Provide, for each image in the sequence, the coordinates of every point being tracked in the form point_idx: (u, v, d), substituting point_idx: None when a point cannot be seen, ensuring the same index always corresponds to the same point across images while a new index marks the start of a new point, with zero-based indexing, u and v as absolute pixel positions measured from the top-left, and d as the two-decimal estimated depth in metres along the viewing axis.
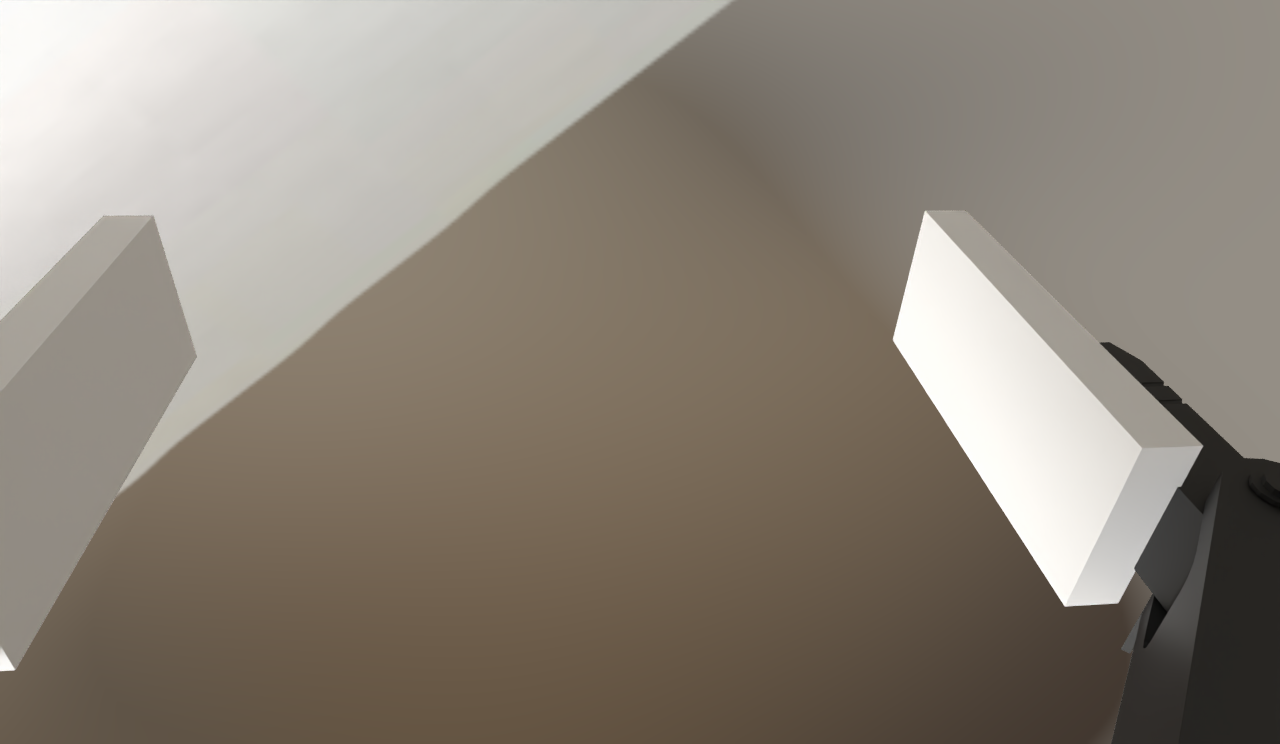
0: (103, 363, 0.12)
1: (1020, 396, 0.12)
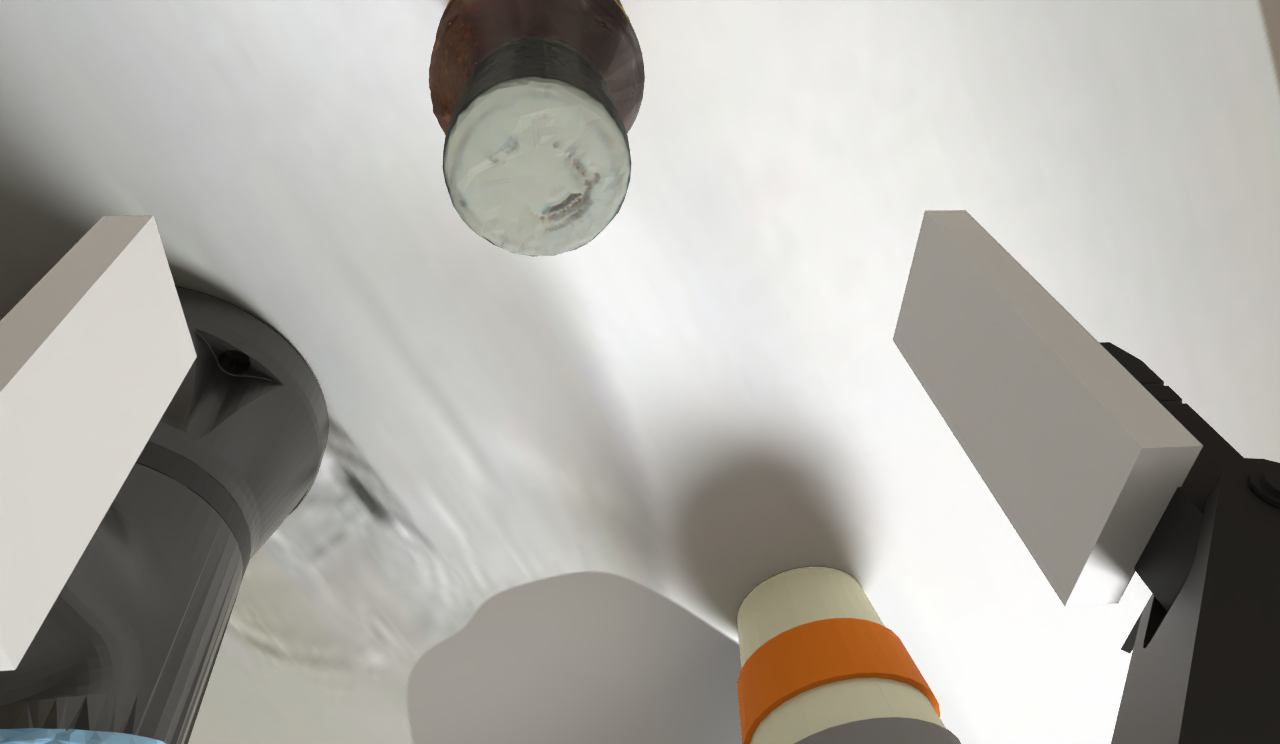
0: (103, 363, 0.12)
1: (1020, 396, 0.12)
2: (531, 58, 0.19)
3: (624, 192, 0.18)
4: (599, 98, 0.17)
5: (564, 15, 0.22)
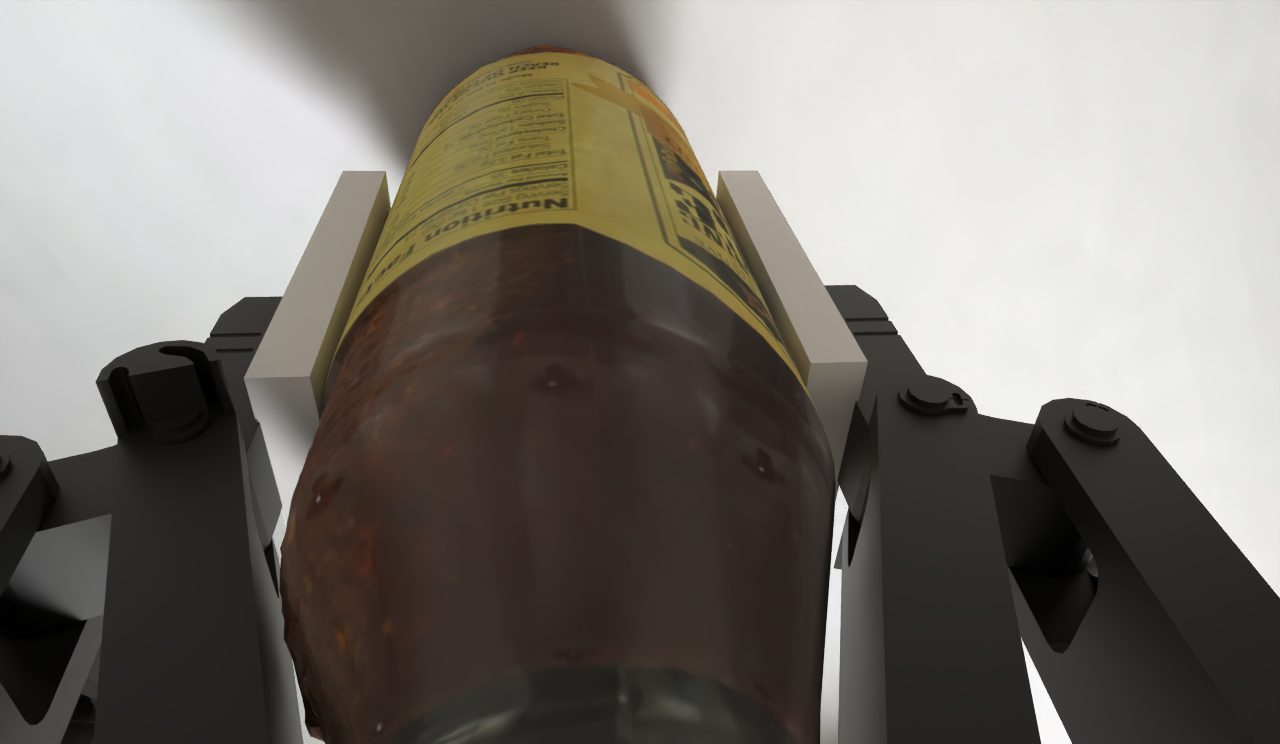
0: None
1: None
2: None
3: None
4: None
5: (666, 501, 0.07)
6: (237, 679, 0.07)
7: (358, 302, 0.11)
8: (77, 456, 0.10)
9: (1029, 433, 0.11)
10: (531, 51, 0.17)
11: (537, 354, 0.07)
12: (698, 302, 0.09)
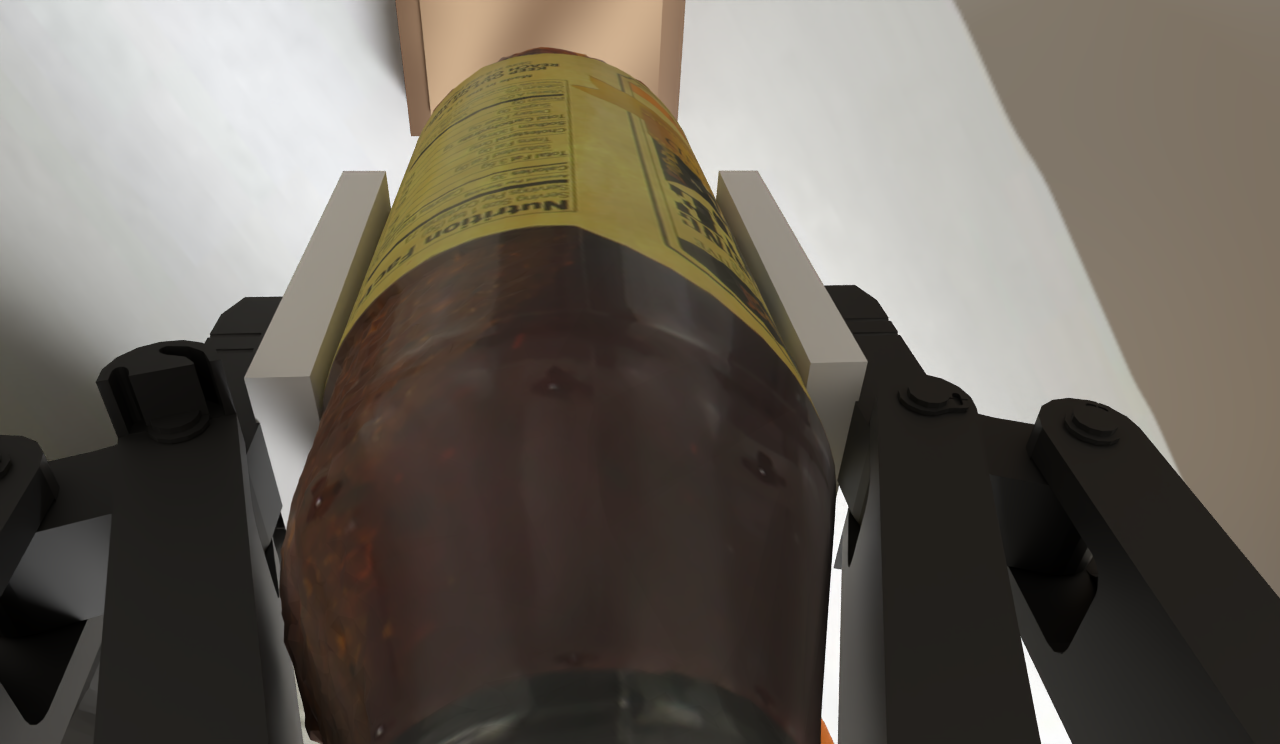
0: None
1: None
2: None
3: None
4: None
5: (666, 505, 0.07)
6: (237, 677, 0.07)
7: (358, 304, 0.11)
8: (77, 456, 0.10)
9: (1029, 433, 0.11)
10: (531, 52, 0.17)
11: (537, 356, 0.07)
12: (698, 305, 0.09)
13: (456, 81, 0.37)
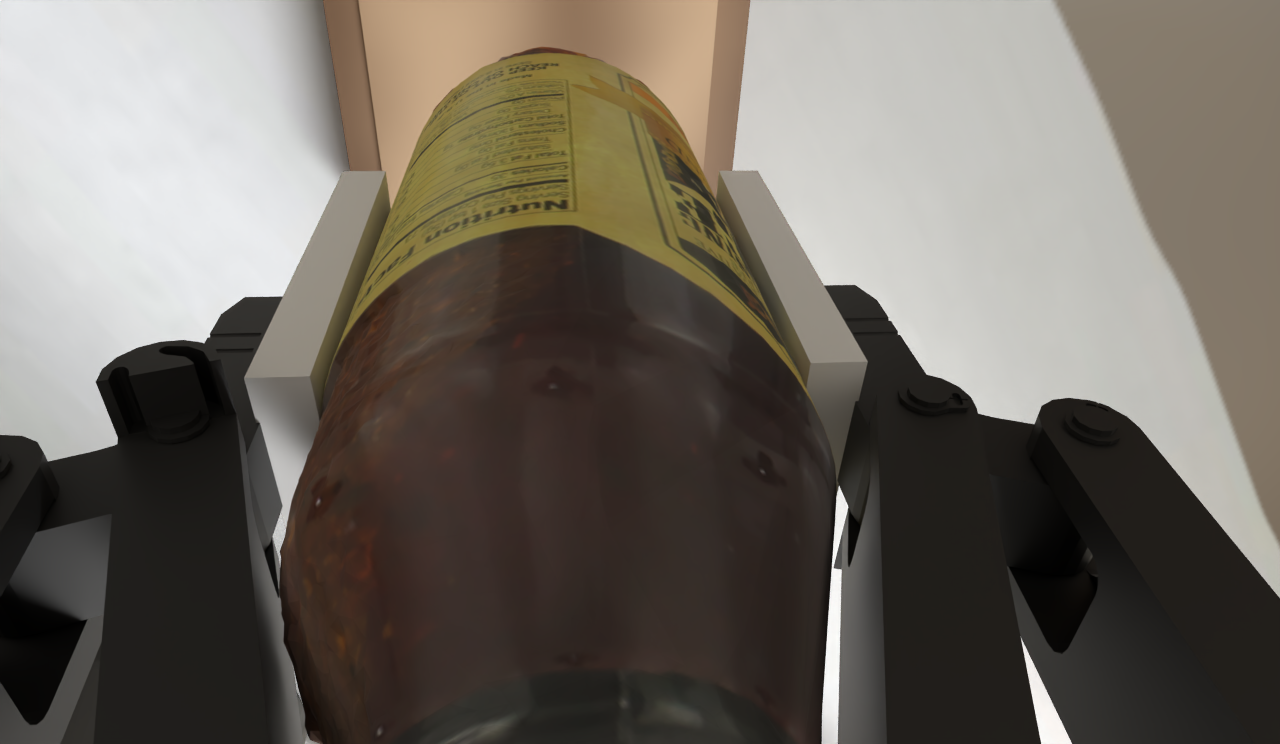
0: None
1: None
2: None
3: None
4: None
5: (667, 504, 0.07)
6: (237, 677, 0.07)
7: (358, 304, 0.11)
8: (78, 456, 0.10)
9: (1029, 433, 0.11)
10: (531, 52, 0.17)
11: (537, 356, 0.07)
12: (699, 304, 0.09)
13: None
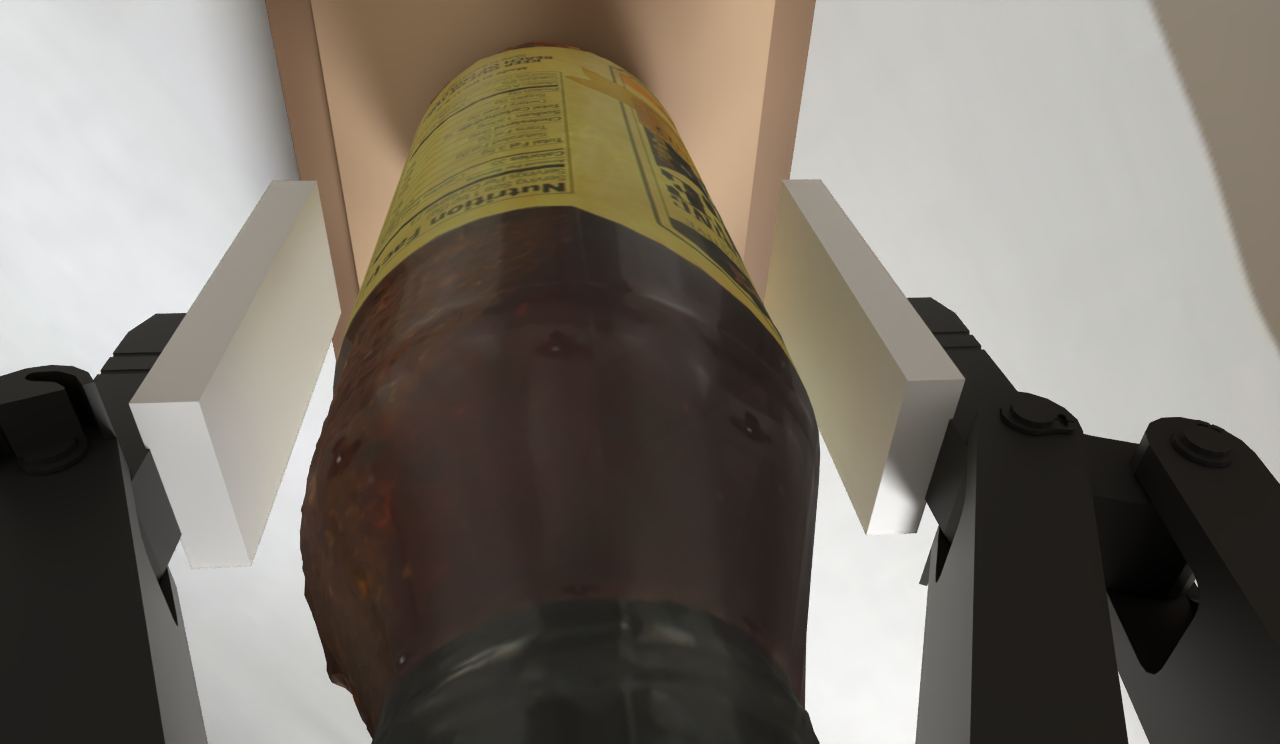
0: (292, 308, 0.13)
1: (839, 345, 0.13)
2: None
3: None
4: None
5: (661, 456, 0.08)
6: (131, 709, 0.07)
7: (366, 284, 0.11)
8: None
9: (1134, 450, 0.11)
10: (525, 46, 0.18)
11: (540, 322, 0.08)
12: (689, 278, 0.09)
13: None
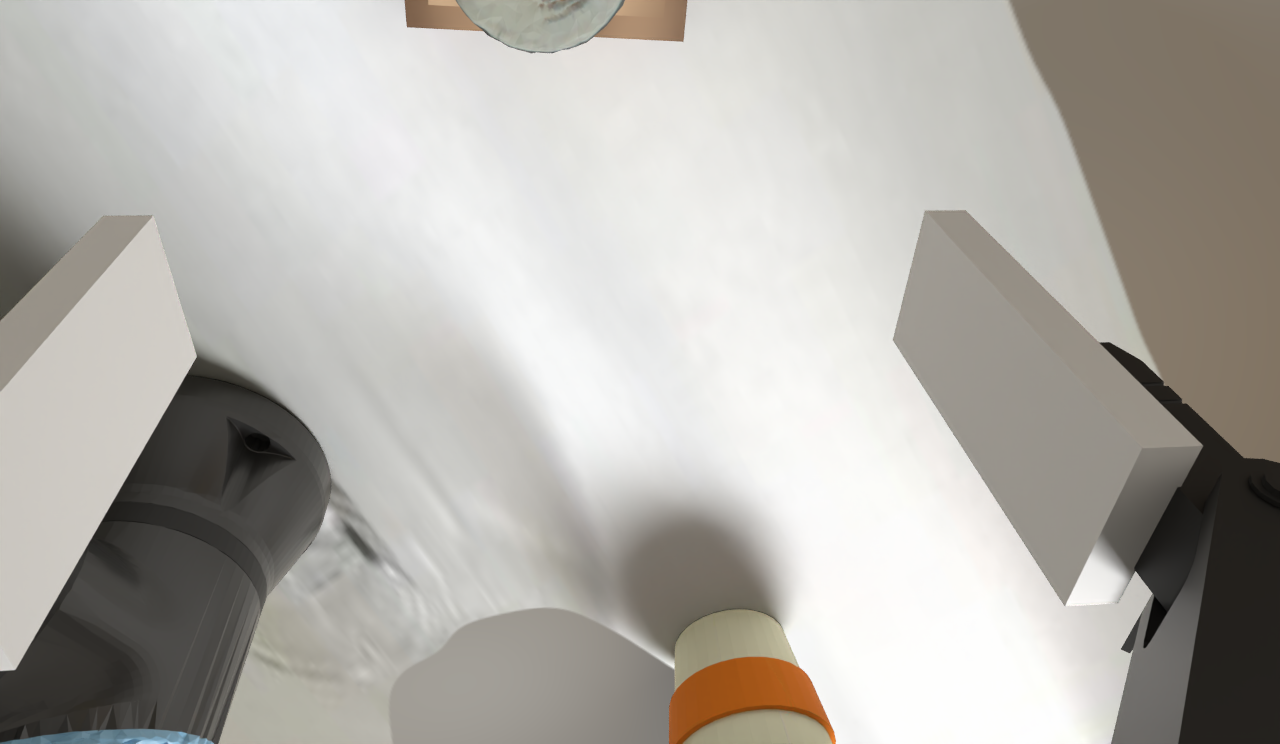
0: (103, 363, 0.12)
1: (1020, 396, 0.12)
2: None
3: None
4: None
5: None
6: None
7: None
8: None
9: None
10: None
11: None
12: None
13: None
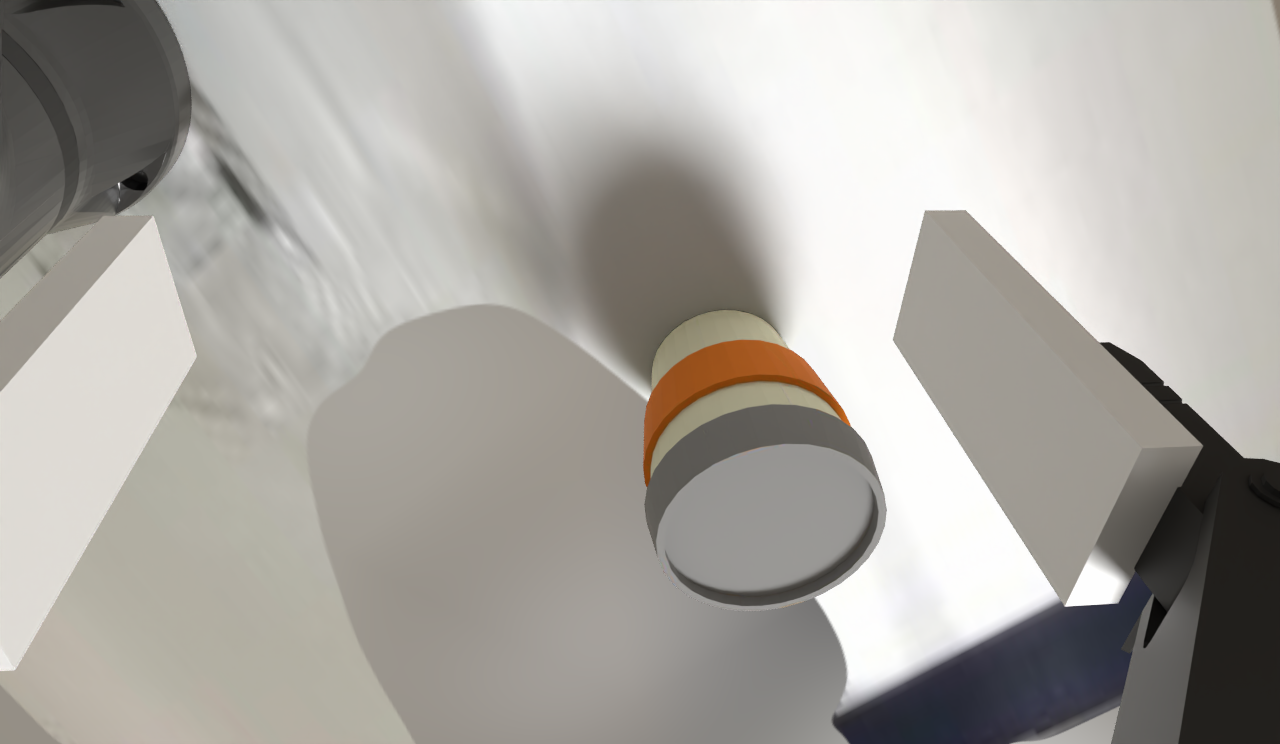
0: (103, 363, 0.12)
1: (1020, 396, 0.12)
2: None
3: None
4: None
5: None
6: None
7: None
8: None
9: None
10: None
11: None
12: None
13: None
